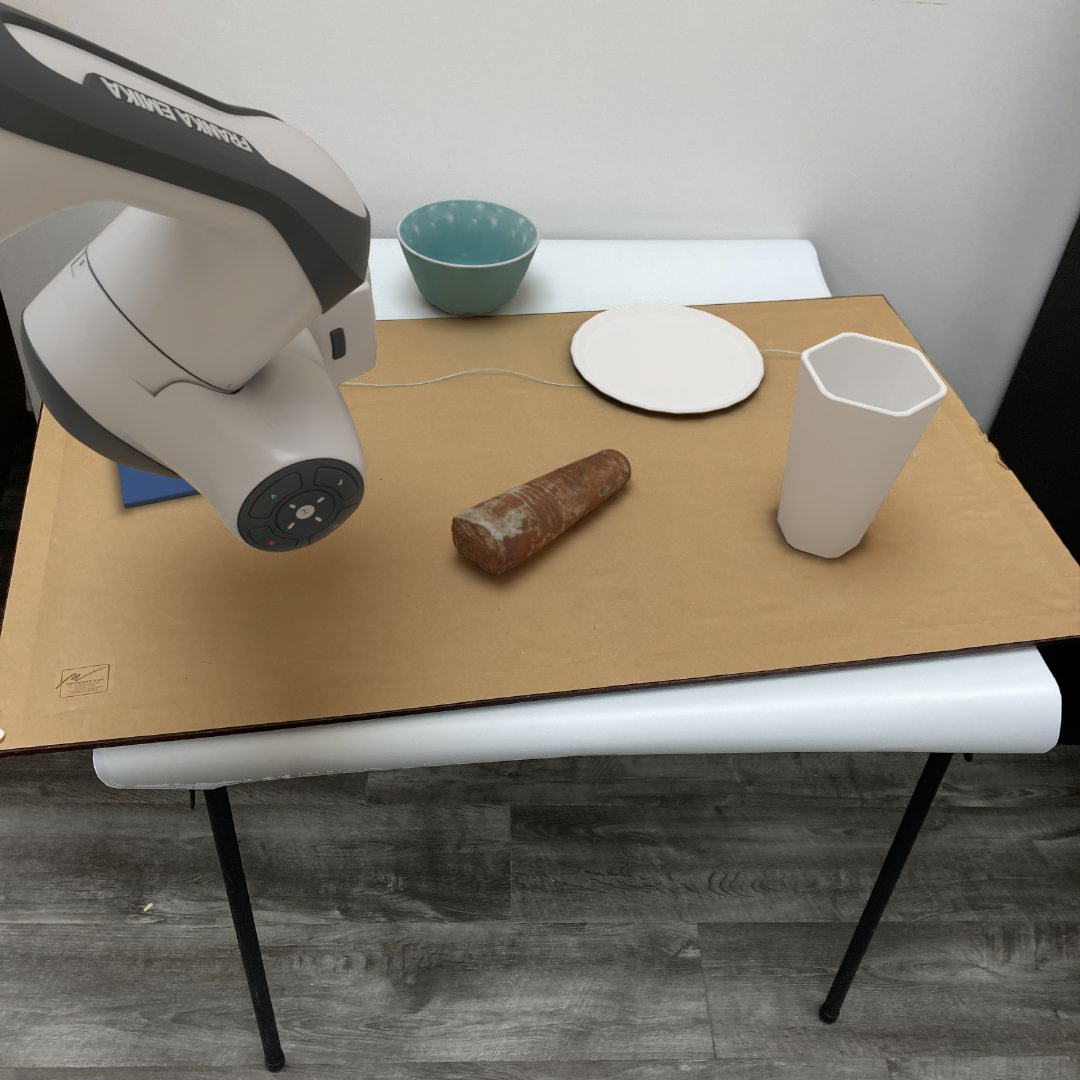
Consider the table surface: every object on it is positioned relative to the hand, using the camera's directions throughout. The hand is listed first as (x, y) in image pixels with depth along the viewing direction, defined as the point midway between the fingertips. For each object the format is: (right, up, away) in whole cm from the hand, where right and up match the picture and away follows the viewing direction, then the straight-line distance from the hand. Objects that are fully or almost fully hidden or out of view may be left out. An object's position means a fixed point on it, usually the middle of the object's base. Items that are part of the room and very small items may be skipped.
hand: (201, 249), depth 70 cm
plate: (+38, -2, +36) cm, 52 cm away
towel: (-6, -9, +24) cm, 27 cm away
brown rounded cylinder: (+25, -19, +17) cm, 35 cm away
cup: (+49, -20, +18) cm, 56 cm away
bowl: (+16, +7, +43) cm, 47 cm away
